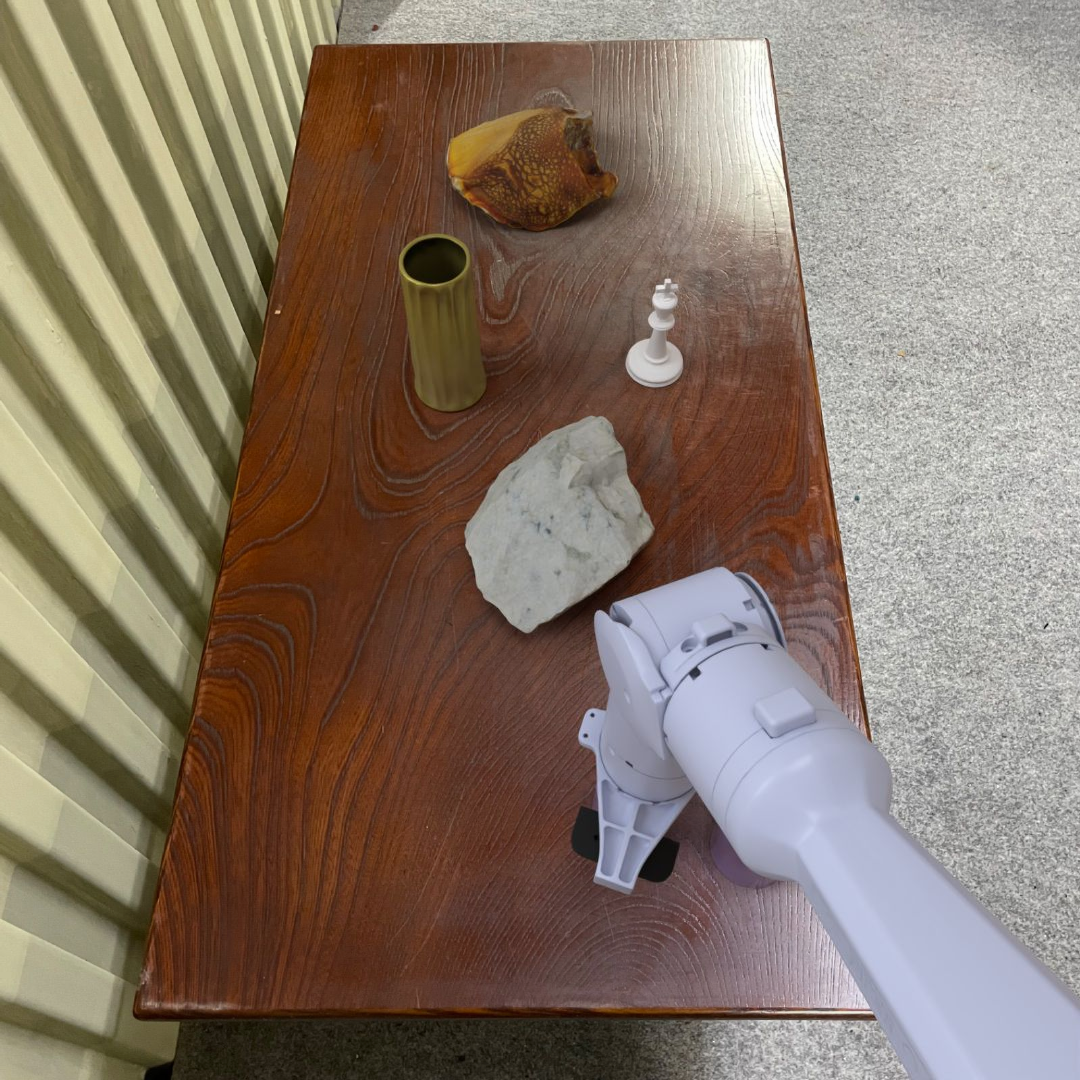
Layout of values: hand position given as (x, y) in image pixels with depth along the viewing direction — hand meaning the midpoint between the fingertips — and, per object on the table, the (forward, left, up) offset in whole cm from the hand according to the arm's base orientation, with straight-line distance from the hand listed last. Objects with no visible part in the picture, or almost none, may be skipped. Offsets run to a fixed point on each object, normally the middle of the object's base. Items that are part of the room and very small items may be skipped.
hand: (637, 789), depth 58 cm
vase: (+27, +27, -6) cm, 39 cm away
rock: (+17, +13, -6) cm, 22 cm away
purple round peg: (+1, -8, -5) cm, 10 cm away
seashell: (+53, +31, -6) cm, 62 cm away
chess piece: (+36, +12, -6) cm, 38 cm away
